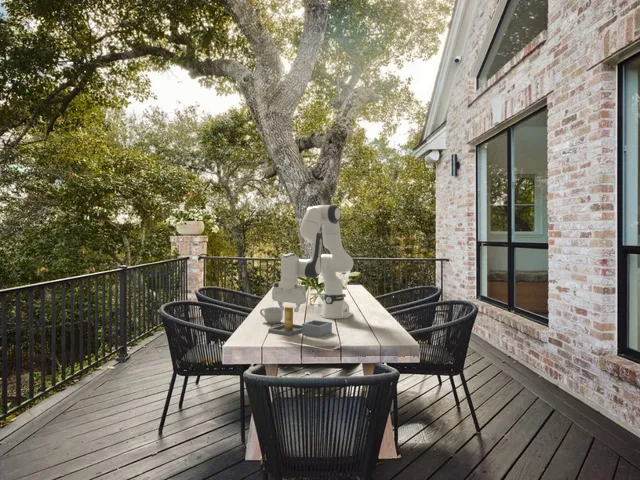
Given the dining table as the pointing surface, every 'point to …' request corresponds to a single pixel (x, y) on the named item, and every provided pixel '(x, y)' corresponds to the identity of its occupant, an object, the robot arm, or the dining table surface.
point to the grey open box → (317, 328)
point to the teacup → (272, 314)
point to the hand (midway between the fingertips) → (289, 310)
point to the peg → (288, 319)
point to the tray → (281, 331)
